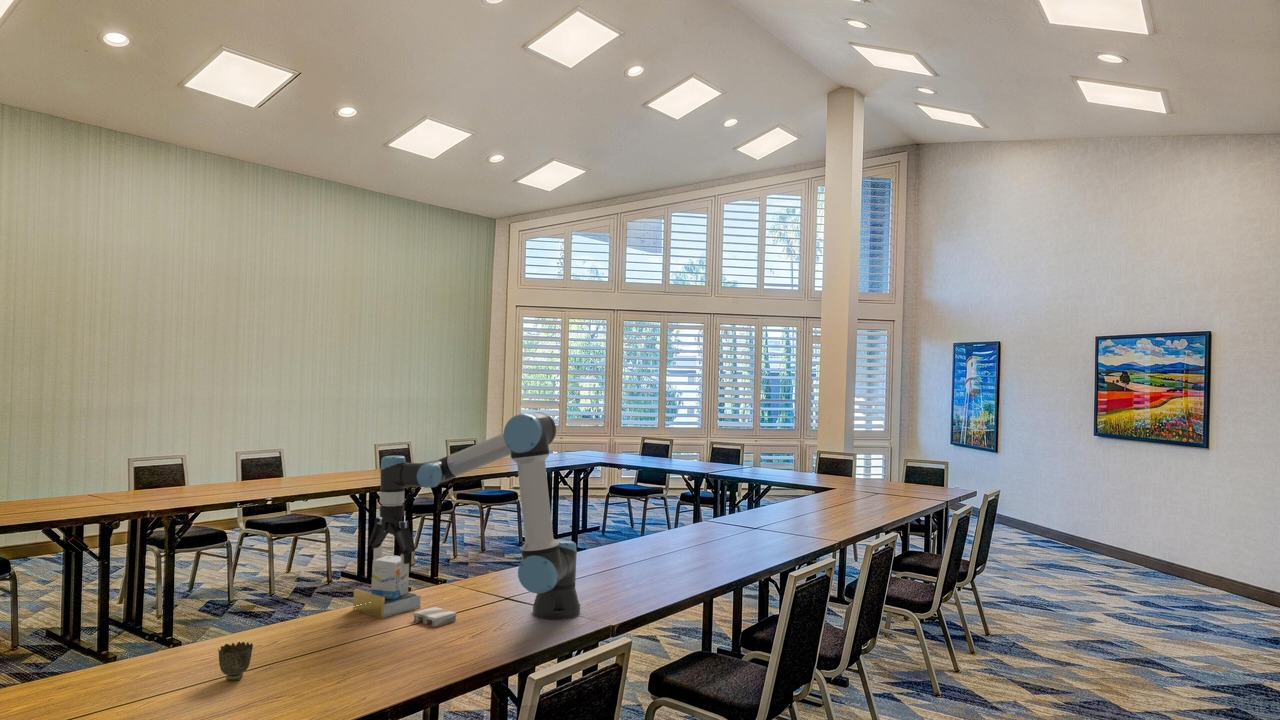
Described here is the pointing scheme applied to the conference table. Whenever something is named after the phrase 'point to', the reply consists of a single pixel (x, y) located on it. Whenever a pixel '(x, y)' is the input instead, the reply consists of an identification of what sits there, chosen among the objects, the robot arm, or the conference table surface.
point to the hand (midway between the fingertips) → (390, 570)
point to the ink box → (388, 578)
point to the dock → (384, 604)
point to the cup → (235, 660)
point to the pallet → (435, 616)
